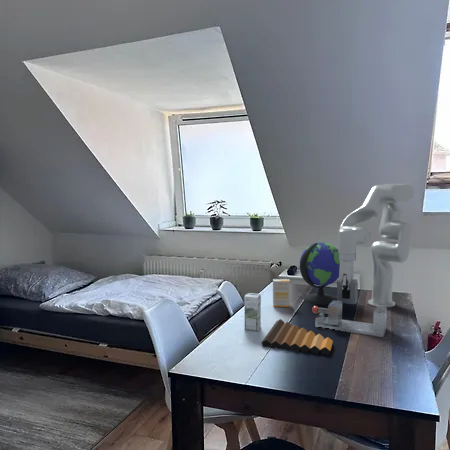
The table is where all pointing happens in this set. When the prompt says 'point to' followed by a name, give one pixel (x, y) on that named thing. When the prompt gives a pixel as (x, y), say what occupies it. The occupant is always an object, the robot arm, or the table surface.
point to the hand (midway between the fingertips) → (347, 296)
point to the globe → (320, 270)
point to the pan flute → (296, 339)
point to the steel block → (352, 292)
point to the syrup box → (252, 311)
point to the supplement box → (281, 293)
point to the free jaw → (331, 312)
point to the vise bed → (358, 324)
